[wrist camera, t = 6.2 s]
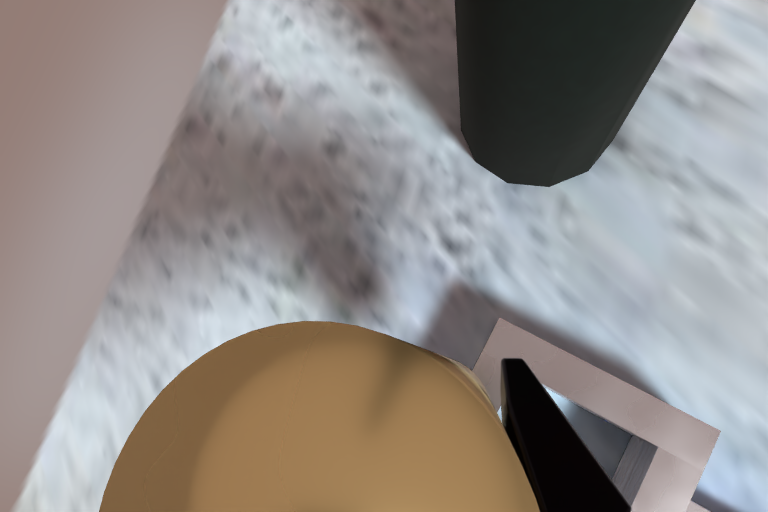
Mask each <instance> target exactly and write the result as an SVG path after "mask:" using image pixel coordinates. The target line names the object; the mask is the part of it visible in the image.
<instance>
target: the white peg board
mask: <svg viewBox="0 0 768 512" xmlns="http://www.w3.org/2000/svg"><path fill="white" fill-rule="evenodd" d="M503 358H522V359H523V360H524V361H525V362H526V363H527V365H528V366H529V367H530V369H531V370H532V371H533V373H534V374H535V376H536V377H537V378H538V380H539V381H540V382H541V384H542V385H543V387H545V388H547V389H548V390H550V391H552V392H554V393H556V394H558V395H560V396H561V397H563V398H565V399H567V400H569V401H571V402H572V403H574V404H576V405H578V406H580V407H582V408H583V409H585V410H587V411H589V412H591V413H593V414H594V415H596V416H598V417H600V418H602V419H604V420H606V421H607V422H609V423H611V424H613V425H615V426H617V427H618V428H620V429H622V430H624V431H626V432H628V433H629V434H631V435H632V437H631V439H630V441H629V443H628V445H627V447H626V450H625V452H624V454H623V456H622V458H621V460H620V463H619V465H618V467H617V469H616V471H615V473H614V476H613V478H612V481H613V483H614V484H615V485H616V487H617V488H618V489H619V491H620V492H621V494H622V495H623V496H624V498H625V499H626V500H627V502H628V503H629V505H630V506H631V508H632V511H631V512H712V511H710V510H708V509H706V508H705V507H703V506H701V505H699V504H697V503H696V502H694V501H692V500H691V498H692V496H693V494H694V491H695V489H696V487H697V485H698V482H699V480H700V478H701V475H702V473H703V471H704V469H705V466H706V464H707V462H708V459H709V457H710V455H711V453H712V450H713V448H714V446H715V444H716V441H717V439H718V437H719V434H720V432H721V431H720V430H718V429H716V428H714V427H712V426H710V425H708V424H706V423H704V422H702V421H700V420H698V419H696V418H694V417H692V416H691V415H689V414H687V413H685V412H683V411H681V410H679V409H677V408H675V407H673V406H671V405H669V404H667V403H665V402H663V401H661V400H659V399H657V398H655V397H654V396H652V395H650V394H648V393H646V392H644V391H642V390H640V389H638V388H636V387H634V386H632V385H630V384H628V383H626V382H624V381H622V380H620V379H618V378H617V377H615V376H613V375H611V374H609V373H607V372H605V371H603V370H601V369H599V368H597V367H595V366H593V365H591V364H589V363H587V362H585V361H583V360H582V359H580V358H578V357H576V356H574V355H572V354H570V353H568V352H566V351H564V350H562V349H560V348H558V347H556V346H554V345H552V344H550V343H548V342H546V341H545V340H543V339H541V338H539V337H537V336H535V335H533V334H531V333H529V332H527V331H525V330H523V329H521V328H519V327H517V326H515V325H513V324H511V323H509V322H508V321H506V320H504V319H502V318H500V317H499V319H498V321H497V323H496V325H495V327H494V329H493V331H492V333H491V335H490V337H489V339H488V341H487V343H486V345H485V347H484V349H483V351H482V353H481V355H480V357H479V358H478V360H477V362H476V364H475V366H474V368H473V370H472V372H473V373H474V374H475V375H476V376H477V377H478V378H479V379H480V381H481V382H482V384H483V386H484V387H485V389H486V391H487V393H488V395H489V397H490V400H491V402H492V404H493V406H494V408H495V410H496V412H498V410H499V408H500V406H501V392H500V383H501V360H502V359H503Z"/></svg>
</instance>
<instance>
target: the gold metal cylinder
mask: <svg viewBox="0 0 768 512" xmlns="http://www.w3.org/2000/svg"><path fill="white" fill-rule="evenodd" d="M99 512H540V511H539V507H538V504H537V501H536V498H535V495H534V493H533V491H532V488H531V486H530V484H529V481H528V479H527V476H526V474H525V472H524V469H523V467H522V465H521V462H520V460H519V458H518V456H517V454H516V452H515V450H514V448H513V446H512V444H511V441H510V439H509V437H508V435H507V433H506V431H505V429H504V427H503V425H502V423H501V421H500V418H499V416H498V414H497V412H496V410H495V408H494V406H493V404H492V402H491V400H490V397H489V395H488V393H487V391H486V389H485V387H484V386H483V384H482V382H481V381H480V379H479V378H478V377H477V376H476V375H475V374H474V373H473V372H472V371H471V370H470V369H469V368H468V367H466V366H465V365H463V364H462V363H460V362H458V361H455V360H453V359H450V358H448V357H445V356H442V355H439V354H437V353H434V352H431V351H429V350H426V349H423V348H421V347H418V346H415V345H413V344H410V343H407V342H405V341H402V340H399V339H397V338H394V337H391V336H388V335H386V334H383V333H379V332H376V331H373V330H369V329H366V328H363V327H359V326H355V325H349V324H342V323H336V322H321V321H301V322H293V323H285V324H277V325H273V326H269V327H266V328H262V329H258V330H254V331H251V332H248V333H246V334H244V335H241V336H239V337H236V338H234V339H231V340H229V341H227V342H225V343H223V344H222V345H220V346H218V347H216V348H215V349H213V350H211V351H209V352H208V353H206V354H204V355H203V356H201V357H200V358H199V359H198V360H196V361H195V362H194V363H192V364H191V365H190V366H188V367H187V368H186V369H184V370H183V371H182V372H181V373H180V374H179V375H178V376H177V377H176V378H175V379H174V380H172V381H171V382H170V383H169V384H168V385H167V386H166V387H165V388H164V389H163V390H162V391H161V393H160V394H159V395H158V396H157V397H156V399H155V400H154V401H153V402H152V404H151V405H150V406H149V407H148V408H147V410H146V411H145V412H144V414H143V415H142V417H141V418H140V420H139V421H138V423H137V424H136V426H135V427H134V429H133V431H132V432H131V434H130V435H129V437H128V439H127V441H126V443H125V445H124V447H123V449H122V451H121V453H120V455H119V457H118V459H117V461H116V463H115V465H114V468H113V470H112V473H111V476H110V478H109V481H108V484H107V486H106V489H105V491H104V495H103V499H102V503H101V506H100V510H99Z"/></svg>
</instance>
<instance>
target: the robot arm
mask: <svg viewBox="0 0 768 512" xmlns="http://www.w3.org/2000/svg"><path fill="white" fill-rule="evenodd" d="M500 392H501V411H502V425H503V427H504V429H505V431H506V433H507V435H508V437H509V439H510V441H511V444H512V446H513V448H514V450H515V452H516V454H517V456H518V458H519V460H520V462H521V465H522V467H523V469H524V472H525V474H526V476H527V479H528V481H529V484H530V486H531V488H532V491H533V493H534V495H535V498H536V501H537V504H538V507H539V511H540V512H631V511H632V508H631V506H630V505H629V503H628V502H627V500H626V499H625V498H624V496H623V495H622V494H621V492H620V491H619V489H618V488H617V487H616V485H615V484H614V483H613V481H612V480H611V479H610V477H609V476H608V474H607V473H606V472H605V470H604V469H603V468H602V466H601V465H600V463H599V462H598V461H597V459H596V458H595V457H594V455H593V454H592V452H591V451H590V450H589V448H588V447H587V446H586V444H585V443H584V441H583V440H582V439H581V437H580V436H579V435H578V433H577V432H576V430H575V429H574V428H573V426H572V425H571V424H570V422H569V421H568V419H567V418H566V417H565V415H564V414H563V413H562V411H561V410H560V409H559V407H558V406H557V404H556V403H555V402H554V400H553V399H552V398H551V396H550V395H549V393H548V392H547V391H546V389H545V388H544V387H543V385H542V384H541V382H540V381H539V380H538V378H537V377H536V376H535V374H534V373H533V371H532V370H531V369H530V367H529V366H528V365H527V363H526V362H525V361H524V360H523V359H522V358H503V359H502V360H501V383H500Z"/></svg>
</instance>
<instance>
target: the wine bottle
mask: <svg viewBox="0 0 768 512" xmlns="http://www.w3.org/2000/svg"><path fill="white" fill-rule="evenodd" d="M695 1H696V0H455V14H456V35H457V55H458V76H459V97H460V118H461V131H462V133H463V135H464V137H465V140H466V142H467V144H468V146H469V148H470V151H471V153H472V155H473V157H474V159H475V161H476V162H477V163H478V164H480V165H481V166H483V167H484V168H486V169H487V170H489V171H490V172H492V173H493V174H495V175H496V176H498V177H499V178H501V179H502V180H504V181H505V182H507V183H513V184H524V185H535V186H545V187H550V186H552V185H555V184H557V183H560V182H562V181H565V180H567V179H570V178H572V177H575V176H577V175H580V174H582V173H585V172H587V171H589V169H590V168H591V167H592V166H593V164H594V163H595V162H596V161H597V159H598V158H599V157H600V156H601V154H602V153H603V152H604V151H605V149H606V148H607V147H608V146H609V145H610V143H611V142H612V141H613V139H614V138H615V136H616V134H617V132H618V131H619V129H620V127H621V126H622V124H623V122H624V121H625V119H626V117H627V116H628V114H629V112H630V111H631V109H632V107H633V105H634V104H635V102H636V100H637V99H638V97H639V95H640V94H641V92H642V90H643V89H644V87H645V85H646V83H647V82H648V80H649V78H650V77H651V75H652V73H653V72H654V70H655V68H656V67H657V65H658V63H659V62H660V60H661V58H662V56H663V55H664V53H665V51H666V50H667V48H668V46H669V45H670V43H671V41H672V40H673V38H674V36H675V34H676V33H677V31H678V29H679V28H680V26H681V24H682V23H683V21H684V19H685V18H686V16H687V14H688V13H689V11H690V9H691V7H692V6H693V4H694V2H695Z"/></svg>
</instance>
